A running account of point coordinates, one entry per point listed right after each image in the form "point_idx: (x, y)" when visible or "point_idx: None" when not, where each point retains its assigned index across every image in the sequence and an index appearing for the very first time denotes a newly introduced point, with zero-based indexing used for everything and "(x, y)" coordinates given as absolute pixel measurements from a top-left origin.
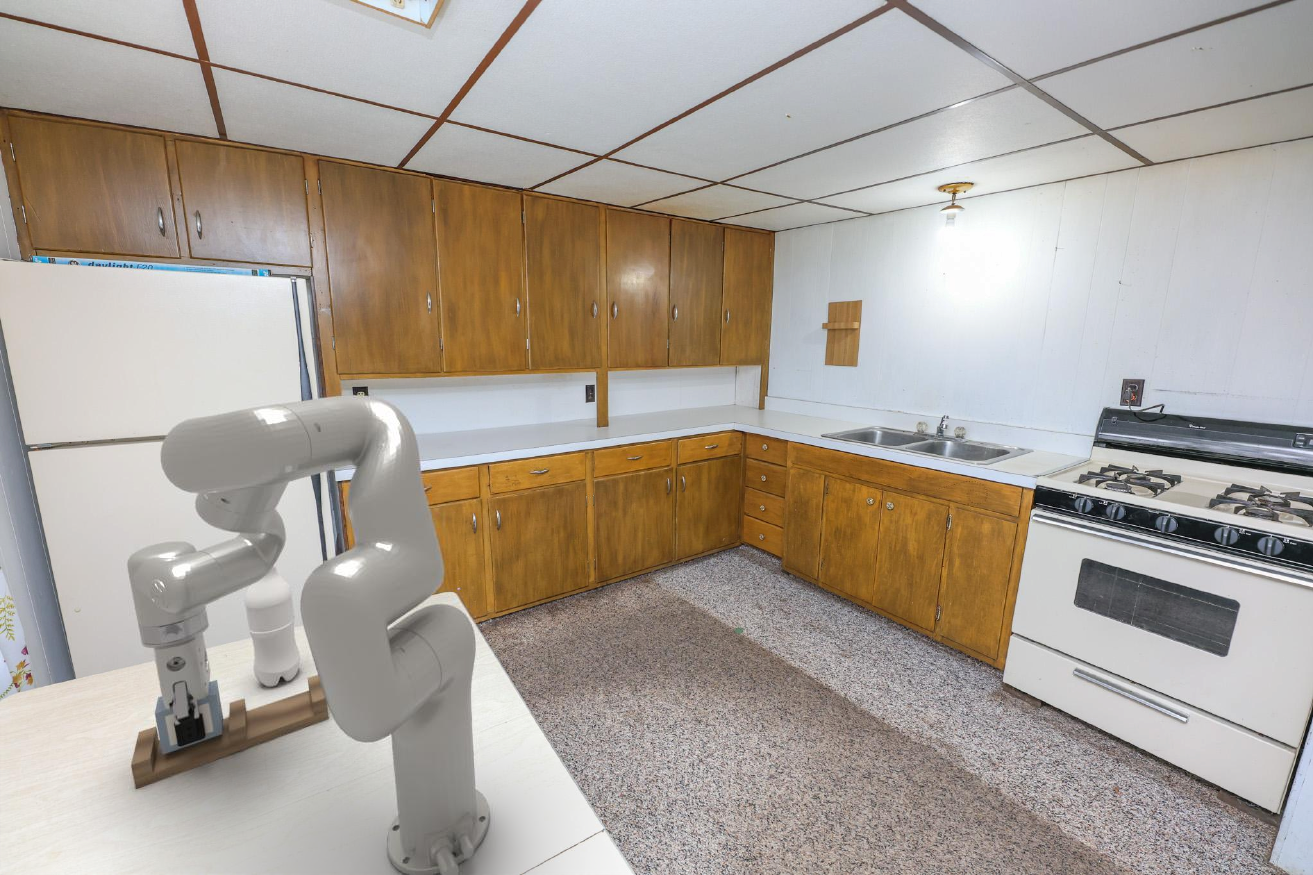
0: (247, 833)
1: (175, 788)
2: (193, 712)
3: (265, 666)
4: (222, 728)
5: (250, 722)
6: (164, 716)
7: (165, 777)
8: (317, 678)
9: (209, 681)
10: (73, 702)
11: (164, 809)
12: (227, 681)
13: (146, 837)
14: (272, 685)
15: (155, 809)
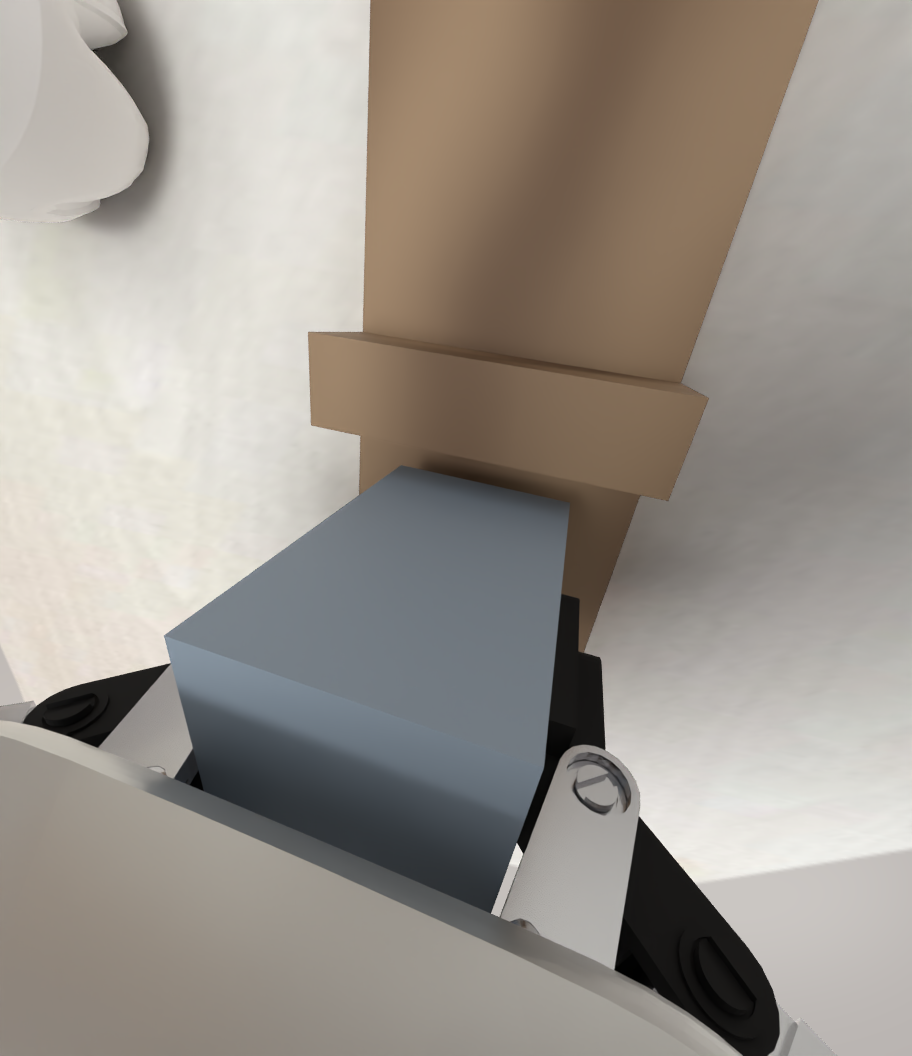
0: None
1: (677, 653)
2: (758, 993)
3: None
4: (527, 497)
5: (500, 332)
6: None
7: None
8: None
9: (268, 884)
10: (49, 678)
11: (782, 705)
12: (44, 356)
13: (898, 773)
14: (145, 143)
15: (745, 717)
